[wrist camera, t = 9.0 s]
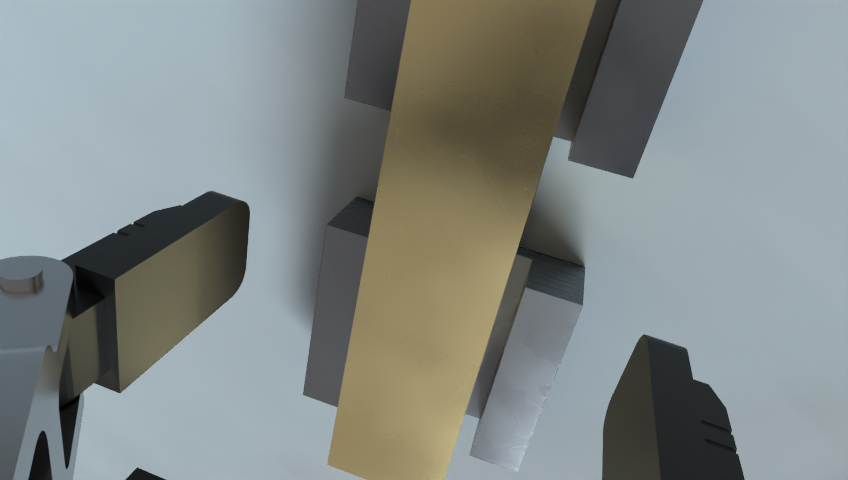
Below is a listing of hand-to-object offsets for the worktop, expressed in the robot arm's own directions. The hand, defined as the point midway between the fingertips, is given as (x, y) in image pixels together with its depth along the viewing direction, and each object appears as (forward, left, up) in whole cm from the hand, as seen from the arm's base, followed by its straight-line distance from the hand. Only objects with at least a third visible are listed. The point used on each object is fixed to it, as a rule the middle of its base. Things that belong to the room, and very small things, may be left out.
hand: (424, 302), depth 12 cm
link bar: (0, 0, -8) cm, 8 cm away
